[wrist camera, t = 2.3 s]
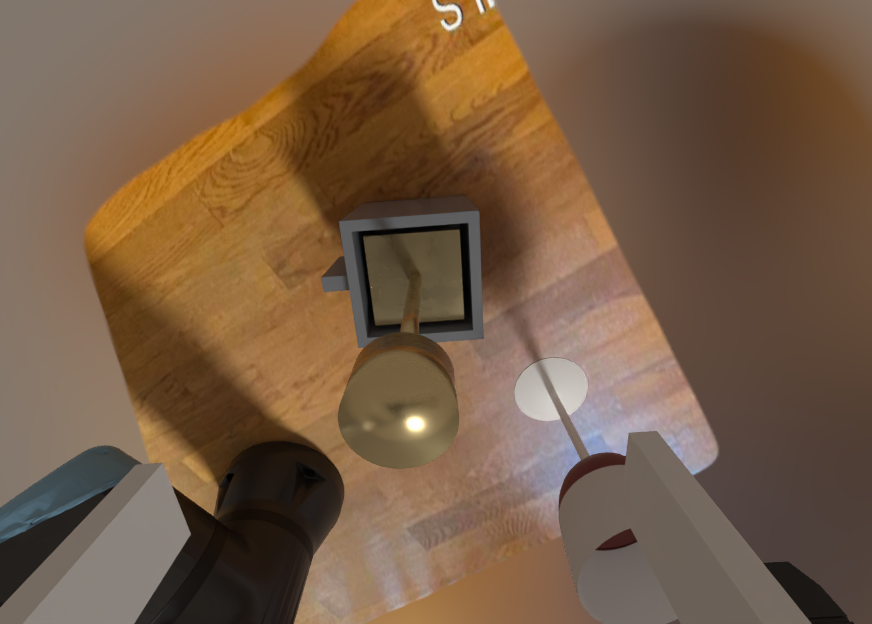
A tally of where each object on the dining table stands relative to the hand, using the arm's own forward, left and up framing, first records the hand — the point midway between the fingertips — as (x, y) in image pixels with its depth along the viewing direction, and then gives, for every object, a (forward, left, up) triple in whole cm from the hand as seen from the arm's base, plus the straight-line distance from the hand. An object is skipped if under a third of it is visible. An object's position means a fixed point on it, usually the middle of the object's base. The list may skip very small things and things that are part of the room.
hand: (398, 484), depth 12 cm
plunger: (0, 0, -22) cm, 22 cm away
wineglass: (+14, -18, -33) cm, 40 cm away
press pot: (-1, 0, -32) cm, 32 cm away
